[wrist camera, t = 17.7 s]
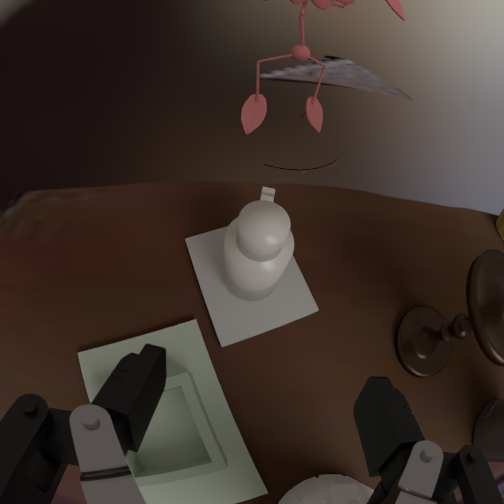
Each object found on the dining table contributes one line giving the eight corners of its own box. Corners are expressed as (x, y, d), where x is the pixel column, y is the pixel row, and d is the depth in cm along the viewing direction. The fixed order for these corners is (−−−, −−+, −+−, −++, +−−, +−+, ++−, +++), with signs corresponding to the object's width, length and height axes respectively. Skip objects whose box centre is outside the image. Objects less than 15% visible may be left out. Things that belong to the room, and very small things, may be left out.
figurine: (203, 114, 44) (207, -79, 13) (340, 116, 48) (395, -42, 17) (205, 178, 38) (209, -96, 7) (370, 175, 42) (466, -16, 10)
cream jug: (274, 305, 29) (300, 263, 20) (218, 295, 29) (217, 247, 20) (283, 236, 33) (306, 176, 24) (233, 226, 33) (239, 163, 24)
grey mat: (317, 311, 30) (318, 309, 30) (221, 347, 27) (221, 346, 27) (271, 216, 35) (272, 214, 35) (185, 241, 33) (185, 238, 32)
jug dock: (267, 490, 20) (272, 503, 17) (142, 517, 17) (133, 530, 14) (196, 320, 29) (192, 311, 25) (80, 353, 25) (64, 347, 22)
